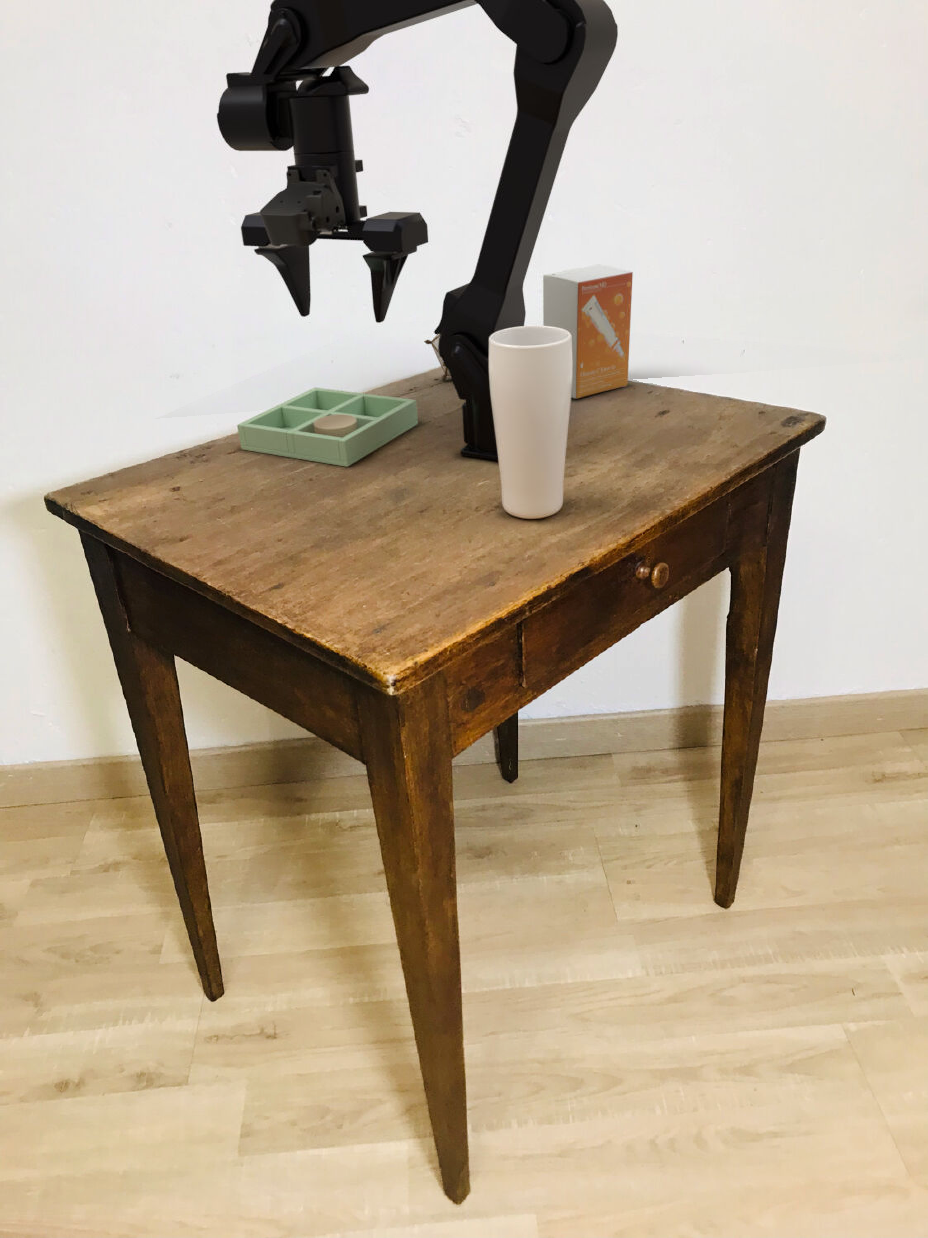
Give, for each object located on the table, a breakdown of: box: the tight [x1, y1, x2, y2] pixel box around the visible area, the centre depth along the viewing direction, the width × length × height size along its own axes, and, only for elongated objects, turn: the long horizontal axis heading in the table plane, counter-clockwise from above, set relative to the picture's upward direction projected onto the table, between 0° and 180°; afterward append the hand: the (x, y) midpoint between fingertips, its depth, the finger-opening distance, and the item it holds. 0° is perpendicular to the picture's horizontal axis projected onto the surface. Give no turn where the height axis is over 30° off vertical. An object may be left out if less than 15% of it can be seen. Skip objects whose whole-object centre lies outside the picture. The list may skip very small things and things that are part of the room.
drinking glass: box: [488, 325, 573, 520], centre depth 79 cm, size 7×7×15 cm
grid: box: [236, 387, 419, 468], centre depth 101 cm, size 14×14×3 cm
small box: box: [542, 264, 634, 400], centre depth 109 cm, size 8×6×13 cm
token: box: [313, 415, 358, 438], centre depth 97 cm, size 4×4×2 cm
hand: (342, 318), depth 98 cm, fingers open, 9 cm apart
